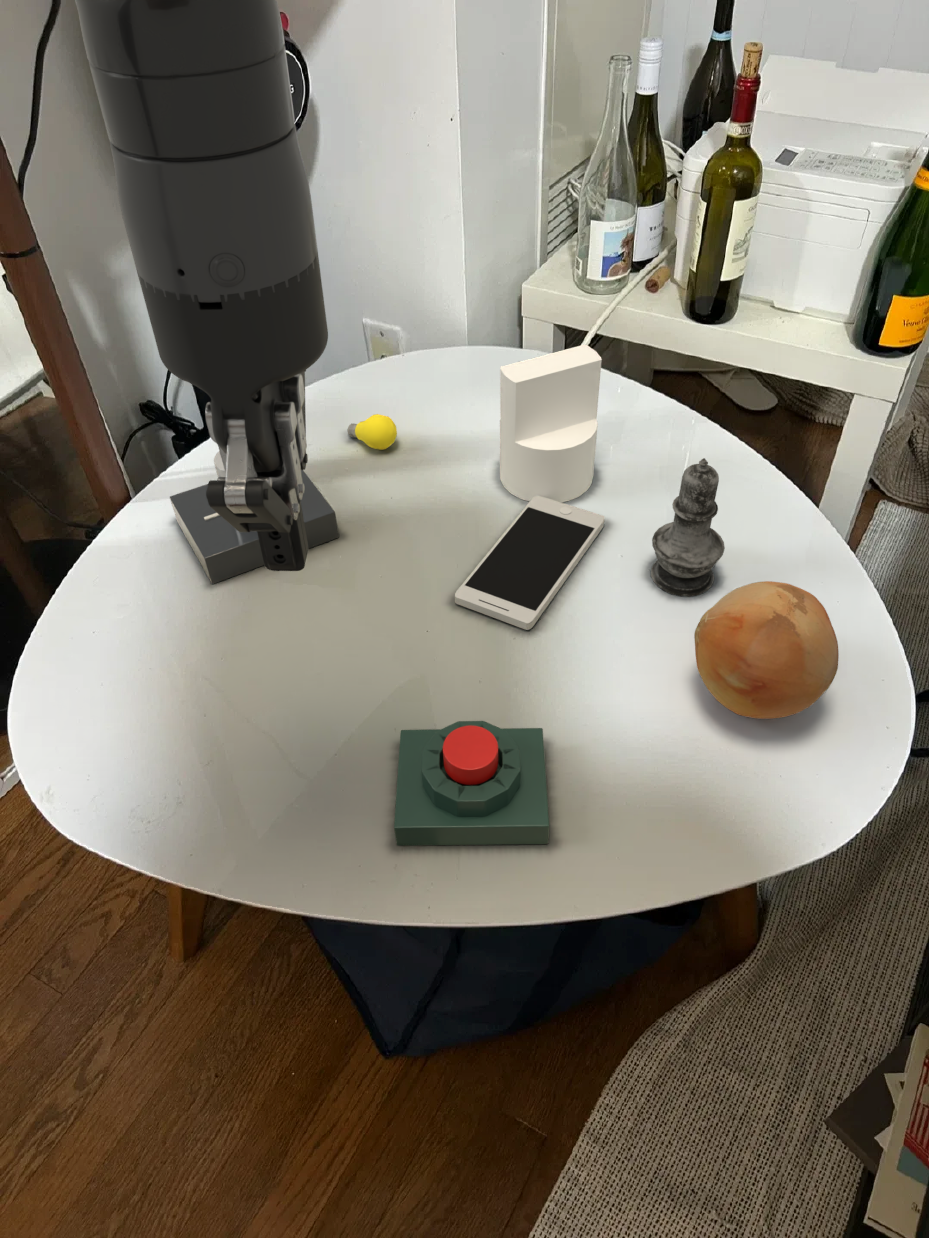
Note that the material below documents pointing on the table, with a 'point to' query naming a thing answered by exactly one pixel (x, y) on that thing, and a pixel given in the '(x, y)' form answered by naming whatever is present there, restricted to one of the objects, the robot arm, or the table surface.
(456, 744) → the stop button
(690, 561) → the grey chess piece
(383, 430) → the light bulb
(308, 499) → the dark grey flat block
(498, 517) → the table surface
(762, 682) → the onion
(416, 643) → the table surface
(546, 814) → the button block
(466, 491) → the table surface
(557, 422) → the base with upright slab
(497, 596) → the smartphone
